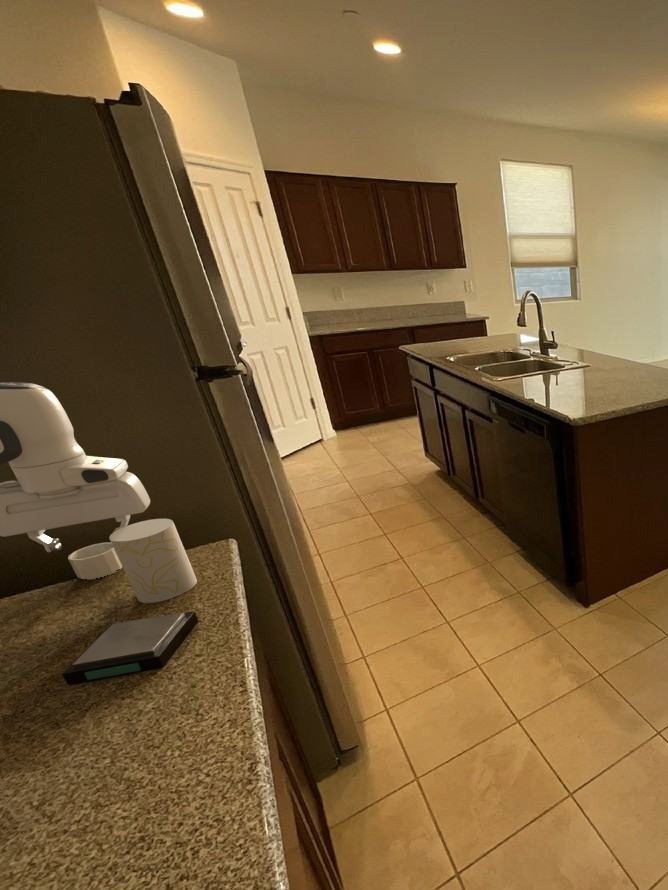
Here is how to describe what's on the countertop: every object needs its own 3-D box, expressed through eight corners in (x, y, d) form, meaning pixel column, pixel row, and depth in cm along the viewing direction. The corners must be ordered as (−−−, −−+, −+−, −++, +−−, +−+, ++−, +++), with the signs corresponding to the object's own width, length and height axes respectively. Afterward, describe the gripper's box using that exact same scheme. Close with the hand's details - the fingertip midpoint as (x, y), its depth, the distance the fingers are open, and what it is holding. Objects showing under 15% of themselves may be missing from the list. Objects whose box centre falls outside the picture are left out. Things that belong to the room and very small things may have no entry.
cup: (137, 608, 87) (107, 546, 83) (137, 588, 93) (110, 528, 88) (198, 589, 92) (174, 530, 87) (195, 571, 98) (172, 514, 93)
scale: (66, 686, 71) (58, 671, 70) (115, 634, 81) (108, 621, 80) (162, 668, 74) (156, 654, 73) (198, 621, 84) (193, 607, 83)
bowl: (69, 584, 94) (58, 562, 93) (92, 565, 100) (82, 545, 98) (112, 577, 96) (103, 556, 94) (133, 560, 102) (124, 540, 100)
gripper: (-41, 493, 84) (1, 566, 89) (125, 468, 92) (155, 537, 98) (-19, 480, 89) (20, 550, 94) (136, 458, 98) (164, 523, 103)
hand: (90, 543), depth 96 cm, fingers open, 8 cm apart
